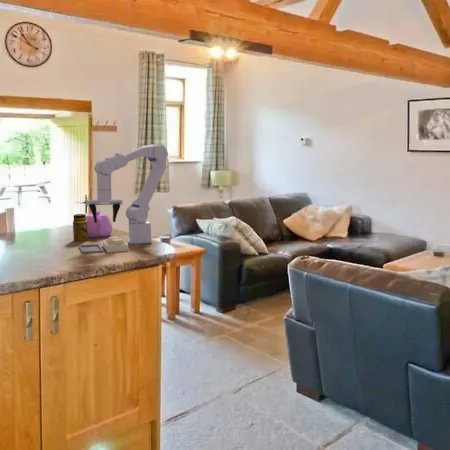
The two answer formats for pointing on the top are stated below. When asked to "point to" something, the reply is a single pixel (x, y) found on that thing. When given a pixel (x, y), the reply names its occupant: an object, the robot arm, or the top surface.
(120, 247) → the cream dish
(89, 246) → the slate tray
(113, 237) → the light gray cube
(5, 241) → the top surface
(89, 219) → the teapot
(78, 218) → the condiment
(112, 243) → the beige cube
